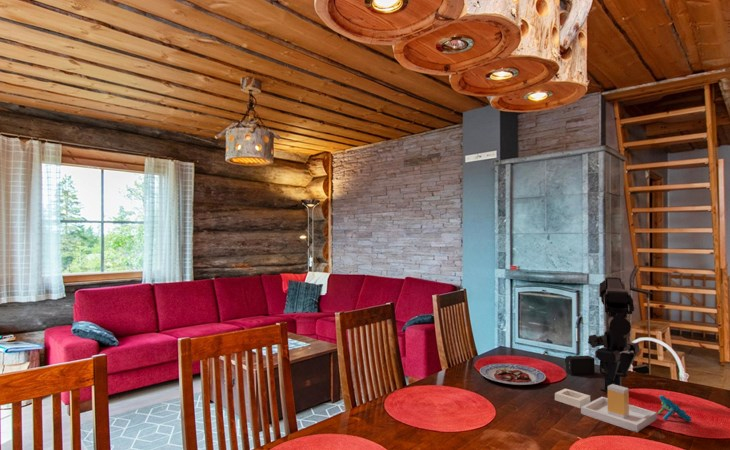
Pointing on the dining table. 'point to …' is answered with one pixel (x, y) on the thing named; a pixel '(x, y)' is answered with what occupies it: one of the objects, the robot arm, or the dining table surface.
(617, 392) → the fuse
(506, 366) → the ceramic plate
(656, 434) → the dining table surface
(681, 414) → the blue toy water gun
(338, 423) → the dining table surface
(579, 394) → the white shallow boxy piece
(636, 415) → the parts tray
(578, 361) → the digital camera
